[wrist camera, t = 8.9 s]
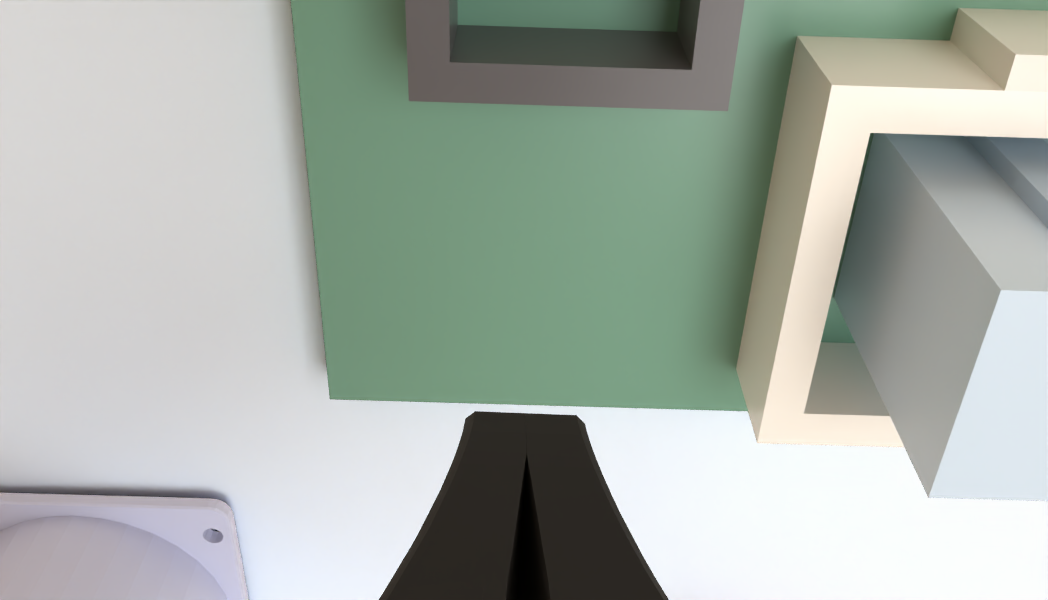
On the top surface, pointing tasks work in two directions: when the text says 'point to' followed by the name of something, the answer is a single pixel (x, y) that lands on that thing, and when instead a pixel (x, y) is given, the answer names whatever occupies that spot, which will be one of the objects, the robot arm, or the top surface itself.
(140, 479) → the top surface
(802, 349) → the frame
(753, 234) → the board
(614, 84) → the block
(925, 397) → the plug
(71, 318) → the top surface
